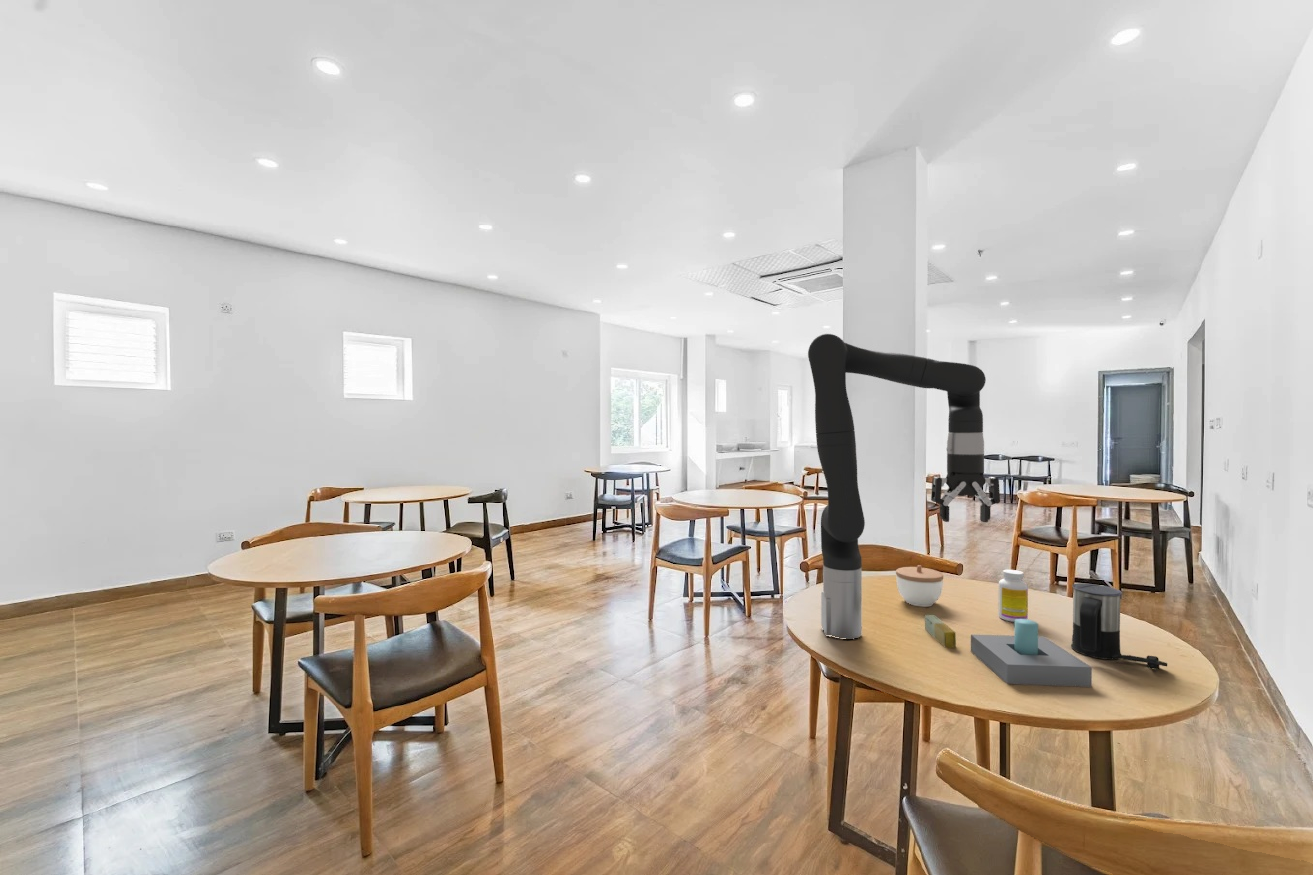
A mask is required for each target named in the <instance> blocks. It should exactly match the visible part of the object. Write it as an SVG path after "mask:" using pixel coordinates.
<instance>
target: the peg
mask: <svg viewBox="0 0 1313 875" xmlns="http://www.w3.org/2000/svg"><path fill="white" fill-rule="evenodd" d="M1014 636H1015V645H1014V651H1016V652H1017V653H1018V654H1020V655H1038V636H1039V623H1038V622H1036V621H1034V620H1031V619H1016V620H1015V622H1014Z"/></svg>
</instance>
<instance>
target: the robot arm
mask: <svg viewBox="0 0 1313 875" xmlns="http://www.w3.org/2000/svg"><path fill="white" fill-rule="evenodd" d="M807 357H808V361H809V366H810V370H811V375H812V380H813V386H814V395H815V397H814V398H815V399H814V400H815V401H814V402H815V404H814V408H815V409H814V412H815V413H814V417H815V418H814V419H815V420H814V421H815V422H814V423H815V439H816V449H817V455H818V458H819V462H820V467H821V470H822V474H823V475H824V476H823V477H824V479H825V484H826V488H827V505H826V506H825V507H824V508H823V510H822V513H821V517H820V542H821V544H820V545H821V546H820V547H821V548H820V549H821V554H822V566H823V567H822V569H823V570H822V572H823V573H822V577H823V578H822V582H823V584H822V586H823V587H822V589H823V591H821V593H820V594H821V596H820V599H821V606H820V607H821V608H820V609H821V610H820V612H821V614H820V615H821V616H820V617H821V619H820V620H821V621H820V623H821V626H822V628H823V630H824V632H825V634H826V635H832V636H835V637H839V638H846V639H853V638H858V637H860V636H861V637H862V635H863V634H862V631H863V630H862V628H863V626H862V624H863V623H862V617H863V616H862V614H863V610H862V605H863V604H862V595H863V594H862V593H863V592H862V585H863V584H862V579H863V578H862V575H863V574H862V570H863V568H862V566H863V565H862V556H861V552H860V547H859V538H860V537H861V536H862V534H863V533H864V529H865V526H866V522H865V516H864V511H863V507H862V502H861V496H860V492H859V491H860V490H859V484H858V483H859V482H858V460H857V459H858V458H857V442H856V434H855V432H856V431H855V424H854V417H853V414H852V413H853V412H852V408H851V404H850V401H849V397H848V392H847V384H846V383H847V382H846V379H847V378H846V376H847V375H846V374H855V375H856V374H857V375H864V376H869V377H874V378H878V379H882V380H885V381H890V382H892V383H893V382H894V383H897V384H901V385H907V386H911V387H915V388H922V389H935V390H940V391H943V392H946V394H947V401H948V435H947V441H946V473H947V474H946V477H938V476H933V477H932V481H931V483H932V484H931V493H930V494H931V496H930V497H931V498H930V501H931V502H933V503H936V504H938V505H939V517H940V519H941V520H942V522H944V523H949V522H950V504H951V502H952V501H953V500H954V499H955V498H956V497H957V496H959V497H965V496H969V497H975V498H977V500H978V501H979V502H980V504H981V505H980V508H979V509H980V510H979V514H980V516H979V517H980V522H982V523H988V522H989V521H990V520H991V507H992V506H993V505H995V504H1000V503H1001V497H1000V496H1001V493H1000V479H999V478H998V477H995V476H989V477H985V476H984V472H985V439H984V417H983V416H984V415H983V410H982V409H981V407H980V406H981V393H980V392H981V391H982V389H984V387H985V385H986V374H985V372H983V370H982V369H981V368H980V367H977V366H976V365H973V364H968V363H963V362H962V363H960V362H954V361H942V360H936V359H932V358H927V357H924V356H923V357H921V356H918V355H912V354H905V353H897V352H886V351H877V350H872V349H871V350H870V349H867V348H866V349H865V348H861V347H858V346H855V345H852V344H849V343H847V342H844V340H843V339H842V338H841V337H839V336H838V335H836V334H833V333H823V334H820V335H818V336H816V337H815V338H814V339H813V340H812V341H811V343H810V345H809V347H808V350H807ZM945 484H946V486H948V488H947V489H946V490H945V492H944V493H943V496H942V487H944V486H945ZM985 484H986V486H987V487H988V495H987V494H986V493H985V491H984V490H983V489H982V488H983V487H984V485H985ZM822 628H821V629H822ZM823 630H822V631H823ZM824 632H823V633H824ZM825 634H824V635H825ZM861 634H862V635H861ZM861 637H860V638H861ZM858 639H859V638H858ZM853 640H854V639H853Z"/></svg>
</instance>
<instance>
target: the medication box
mask: <svg viewBox="0 0 1313 875" xmlns="http://www.w3.org/2000/svg"><path fill="white" fill-rule="evenodd" d="M924 629H925V631H927V632H928V633H929V634H930V635H931V636H932V637H933V638H934V639H935V640H936V641H938V642H939V643H940V645H942V646H943V647H944V646H945V647H944V648H946V647H950V648H952V649H953V648H954V649H956V648H957V643H956V642H957V640H956V638H957V637H956V632H955V631H954V629H952V628H951V627H949V625H947V624H946V623H945V622H944V621H943V620H941V619H940V618H939V617H937V616H936V615H935V614H924Z"/></svg>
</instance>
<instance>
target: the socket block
mask: <svg viewBox="0 0 1313 875" xmlns="http://www.w3.org/2000/svg"><path fill="white" fill-rule="evenodd" d="M1014 645H1015V635H1005V634H1003V635H1002V634H1000V635H999V634H970V652H971V653H972V654H973V655H974V656H975V657H976V658H977V659H979V660H980V662H982V663H983V664H984V665H985V666H987V667H988V669H990V670H991V671H992V672H994V674H995V675H996V676H998V677H999V679H1001V680H1002V681H1003V682H1004V683H1006V684H1007V685H1030V686H1033V685H1034V686H1053V687H1054V686H1056V687H1057V686H1058V687H1059V686H1060V687H1062V686H1063V687H1084V688H1085V687H1086V688H1087V687H1089V688H1092V686H1093V685H1092V682H1093V681H1092V679H1093V678H1092V677H1093V670H1092V668H1093V666H1090V664H1087V663H1086V662H1085V661H1083V660H1082V659H1079V658H1078V657H1077V656H1076V655H1073V653H1070V652H1069V651H1068V650H1066V649H1065V648H1063V647H1061V646H1060V645H1058V644H1056V643H1055V641H1052V640H1050V639H1049V638H1047V637H1046V636H1040V635H1038V655H1020V654H1018V653H1017V652H1016V651H1014Z"/></svg>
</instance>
